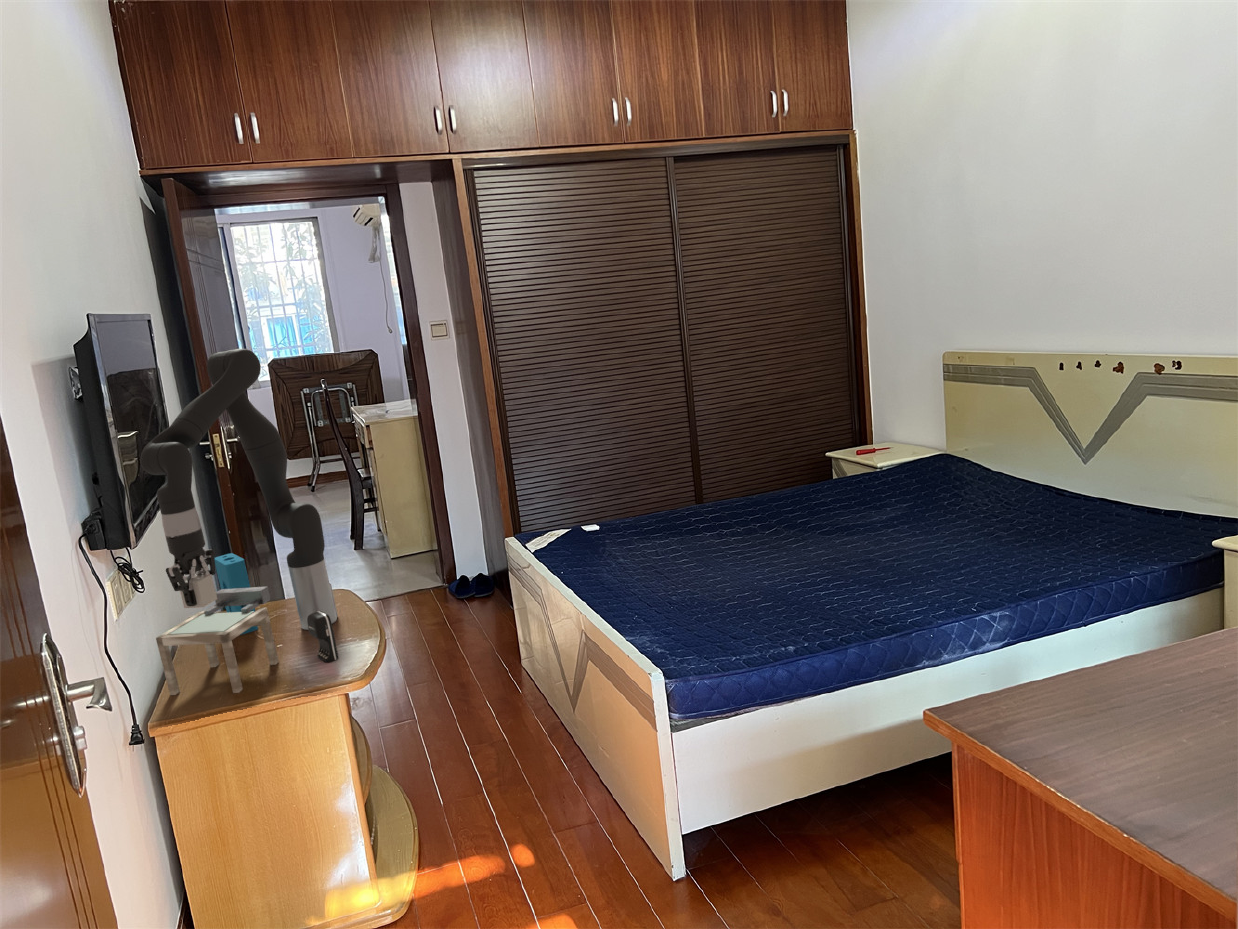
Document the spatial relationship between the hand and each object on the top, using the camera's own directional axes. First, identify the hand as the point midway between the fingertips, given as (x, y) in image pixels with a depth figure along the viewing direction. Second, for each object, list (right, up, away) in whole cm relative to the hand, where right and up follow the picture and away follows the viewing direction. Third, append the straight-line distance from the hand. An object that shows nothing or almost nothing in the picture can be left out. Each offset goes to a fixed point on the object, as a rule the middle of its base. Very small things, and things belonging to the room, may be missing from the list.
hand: (200, 600), depth 206 cm
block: (-6, -14, +39) cm, 42 cm away
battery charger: (+26, -16, +10) cm, 32 cm away
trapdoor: (+2, -6, +7) cm, 9 cm away
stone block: (0, -1, 0) cm, 1 cm away
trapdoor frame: (+3, -19, +6) cm, 20 cm away
